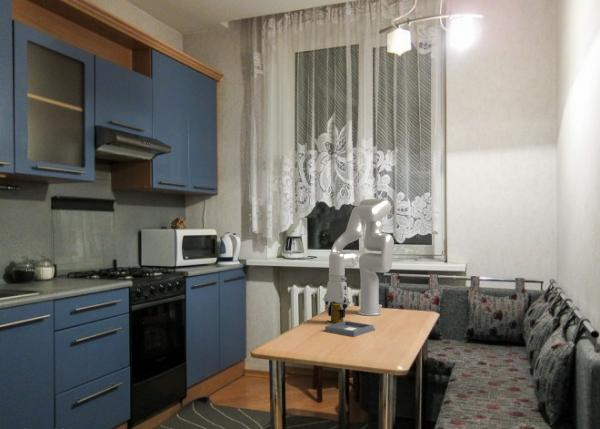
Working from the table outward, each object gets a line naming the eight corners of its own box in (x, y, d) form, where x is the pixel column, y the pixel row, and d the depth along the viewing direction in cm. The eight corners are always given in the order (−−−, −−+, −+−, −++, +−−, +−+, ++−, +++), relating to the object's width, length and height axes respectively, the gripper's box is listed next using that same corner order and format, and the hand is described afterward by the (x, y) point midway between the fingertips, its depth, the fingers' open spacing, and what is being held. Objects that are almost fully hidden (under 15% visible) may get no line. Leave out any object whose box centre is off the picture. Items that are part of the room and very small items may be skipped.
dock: (345, 324, 232) (345, 320, 232) (375, 329, 221) (375, 325, 221) (323, 331, 218) (323, 326, 218) (354, 336, 208) (354, 331, 208)
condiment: (345, 324, 234) (345, 298, 234) (328, 324, 233) (328, 298, 233) (342, 320, 241) (342, 296, 241) (325, 321, 240) (325, 296, 240)
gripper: (356, 279, 234) (356, 317, 234) (326, 276, 245) (326, 313, 245) (347, 281, 228) (347, 320, 228) (317, 278, 239) (317, 315, 239)
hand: (336, 316), depth 236 cm, fingers closed on condiment, 6 cm apart
